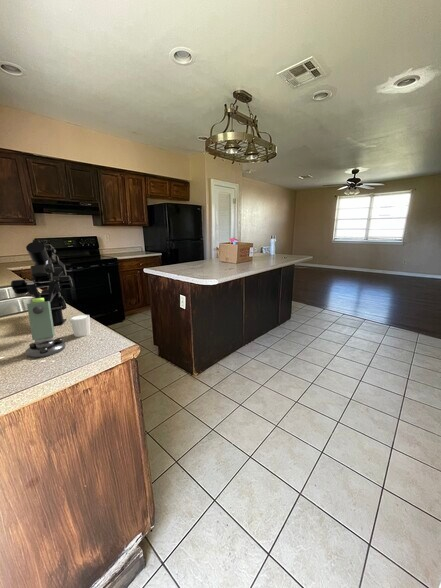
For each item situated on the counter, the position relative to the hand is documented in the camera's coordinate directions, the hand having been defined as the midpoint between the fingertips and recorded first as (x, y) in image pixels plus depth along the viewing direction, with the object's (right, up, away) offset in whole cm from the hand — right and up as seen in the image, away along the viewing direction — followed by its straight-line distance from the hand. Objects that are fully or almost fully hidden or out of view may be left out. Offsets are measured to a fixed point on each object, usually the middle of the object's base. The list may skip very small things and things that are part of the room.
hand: (44, 303), depth 92 cm
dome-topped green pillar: (+6, -13, -8) cm, 16 cm away
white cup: (+11, -13, +6) cm, 18 cm away
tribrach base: (+6, -16, -8) cm, 19 cm away
